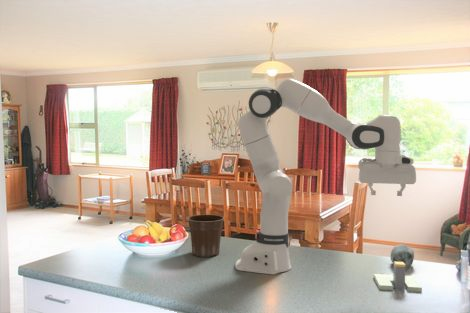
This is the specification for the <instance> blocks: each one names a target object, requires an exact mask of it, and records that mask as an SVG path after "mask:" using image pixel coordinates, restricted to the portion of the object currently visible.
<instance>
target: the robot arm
mask: <svg viewBox="0 0 470 313" xmlns="http://www.w3.org/2000/svg"><path fill="white" fill-rule="evenodd" d="M280 108H286V109H288V110H290V111H292V112H294V113H295V114H297V115H298V116H301V117H302V118H304V119H307V120H310V121H312V122H315V123H320V124H322V125H325V126H327V127H329V128H330V129H332V130H333V131H335V132H336V133H338V134H340V135H341V136H343V138H344V139H345V140H346V142H347V143H348V144H349V146H351V147H352V148H354V149H356V150H364V151H365V150H369V149H375V151H374V157H371V158H369V157H368V158H366V157H365V158H362V159H360V160H359V161H358V167H357V168H358V169H359V170H358V171H359V172H358V181H359V182H360V183H361V184H367V186H368V188H369V189H370V196H376V195H377V192H376V191H377V190H375V189H373V186H374V184H387V185H388V184H392V185H395V184H396V185H400V189H399V190H396V193H397V194H396V196H397V197H402V196H403V191H404V190H405V188H406V185H414V184H415V183H416V182H417V173H416V167H415V166H414V165H413V164H414V162H415V161H414V158H412V157H408V156H406V155H404V154H401V147H400V142H401V139H402V134H401V133H402V129H401V128H402V127H401V122H400V121H401V120H399V118H398V117H396V116H394V115H388V114H379V115H378V116H376V117H375V118H373V119H371V120H368V121H366V122H363V123H358V122H357V123H356V122H352V121H351V120H349V119H348V118H346V117H344V116H343V115H341V114H340V113H338V112H337V111H336V110H334V109H333V108H332V106H331V105H330V104H329V102H328V100H327V99H326V97H324V96H323V94H321V93H320V92H318V91H317V90H316V89H314V88H312V87H310V86H309V85H307V84H305V83H303V82H301V81H298V80H296V79H293V78H286V79H283V81H281V82H280V83H279V85H278V86H277V88H274V89H273V88H271V87H262V88H261V87H260V88H258V89H257V90H255V91H254V92H253V93H251V95H250V97H249V99H248V109H249V111H248V112H245V113H244V114H243V115H241V116H240V117H239V119H238V122H237V124H238V125H237V126H238V129H239V134H240V137H241V141H242V143H243V146H244V147H245V151H246V154H247V155H248V158H249V161H250V163H251V166H252V170H253V174H254V176H255V180H256V182H257V186H258V187H259V190H260V191H261V192H262V203H261V210H260V213H259V214H260V216H259V217H260V218H259V219H260V220H259V222H260V227H259V230H258V229H256V230H255V232H254V241H253V242H252V243H250V244H249V245H248V246H246V247H245V248H244V249H243V250H242V252H241V255H240V258H239V259H237V260H236V262H235V265H234V266H235V267H234V268H235V269H236V270H237V271H240V272H241V271H242V272H248V273H256V274H257V273H258V274H265V275H276V274H279V273H284V272H288V271H290V270H291V269H292V265H291V260H290V254H289V252H290V251H289V247H290V234H289V230H288V229H289V210H290V204H291V198H292V197H291V196H292V193H293V183H292V180H291V179H290V177H289V176H288V175H287V174H285V173H284V172H283V170H282V168H281V165H280V160H279V157H278V151H277V149H276V147H275V144H274V141H273V139H272V136H271V134H270V133H271V132H270V131H269V129H268V126H267V119H268V118H269V117H271V116H273V115H274V114H275V113H277V111H278V110H279V109H280Z"/></svg>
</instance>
